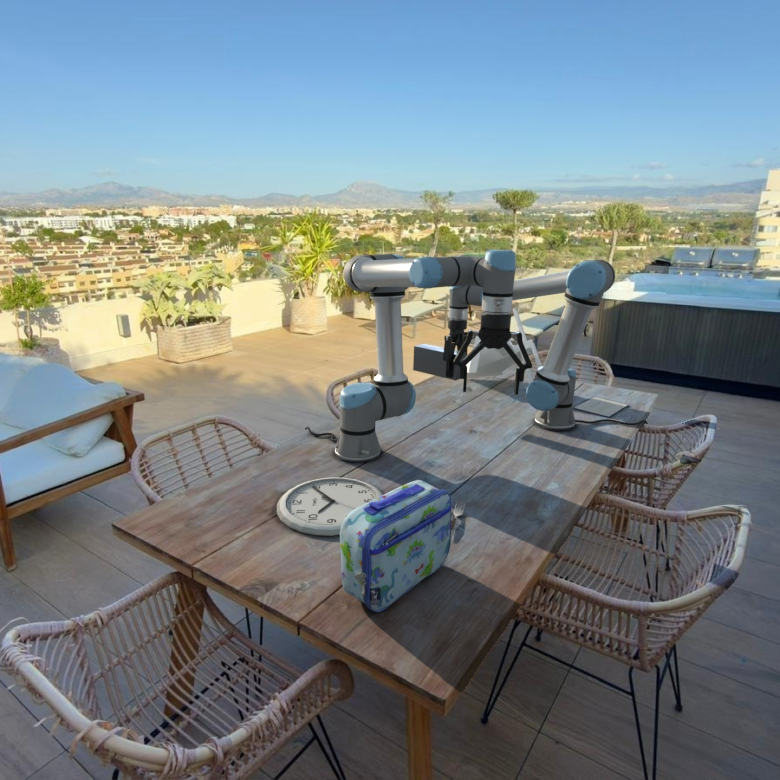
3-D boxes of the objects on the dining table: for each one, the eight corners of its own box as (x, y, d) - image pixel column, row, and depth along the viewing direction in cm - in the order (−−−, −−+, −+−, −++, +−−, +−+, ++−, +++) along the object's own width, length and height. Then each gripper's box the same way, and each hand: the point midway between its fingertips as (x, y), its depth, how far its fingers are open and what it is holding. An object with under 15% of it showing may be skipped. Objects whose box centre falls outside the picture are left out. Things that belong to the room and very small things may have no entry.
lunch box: (369, 626, 100) (370, 530, 93) (334, 598, 107) (332, 507, 101) (455, 567, 117) (460, 483, 111) (419, 547, 124) (423, 467, 118)
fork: (441, 537, 129) (441, 530, 128) (456, 506, 143) (456, 499, 142) (451, 539, 128) (452, 532, 127) (465, 508, 142) (466, 501, 142)
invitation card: (608, 416, 214) (573, 407, 224) (608, 416, 214) (573, 408, 224) (628, 404, 229) (594, 396, 238) (628, 405, 229) (594, 397, 238)
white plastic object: (482, 420, 263) (461, 397, 239) (463, 347, 285) (443, 319, 261) (554, 396, 251) (539, 370, 226) (528, 322, 273) (513, 290, 249)
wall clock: (392, 527, 129) (268, 531, 127) (391, 533, 130) (269, 537, 127) (383, 473, 158) (282, 475, 155) (383, 478, 158) (282, 480, 156)
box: (464, 377, 212) (466, 352, 209) (455, 380, 207) (457, 355, 204) (422, 367, 225) (423, 343, 222) (413, 370, 221) (413, 346, 217)
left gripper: (447, 313, 131) (443, 393, 137) (549, 316, 128) (540, 398, 135) (447, 308, 138) (443, 385, 144) (544, 311, 135) (535, 390, 142)
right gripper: (463, 314, 214) (459, 369, 221) (435, 320, 200) (432, 378, 207) (479, 317, 209) (475, 372, 216) (451, 323, 195) (447, 382, 202)
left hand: (490, 391), depth 140 cm, fingers open, 13 cm apart
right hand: (454, 375), depth 211 cm, fingers closed on box, 7 cm apart
